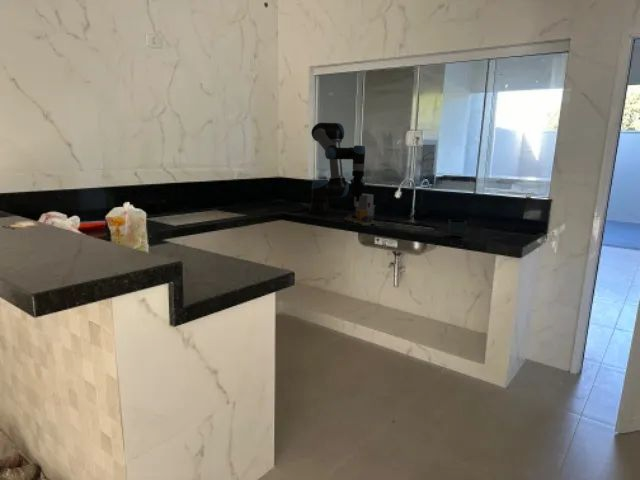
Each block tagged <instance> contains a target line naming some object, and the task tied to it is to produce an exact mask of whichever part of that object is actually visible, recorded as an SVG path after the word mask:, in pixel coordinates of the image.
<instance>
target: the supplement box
mask: <svg viewBox="0 0 640 480" xmlns="http://www.w3.org/2000/svg"><path fill="white" fill-rule="evenodd" d="M363 209H364V210H368V215H369V216H372V217H373V213H374V212H373V211H374V194H373V193H372V194H371V193H362V196H360V197H359V206H356V207H355V213H356V212H357V210H363Z"/></svg>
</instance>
